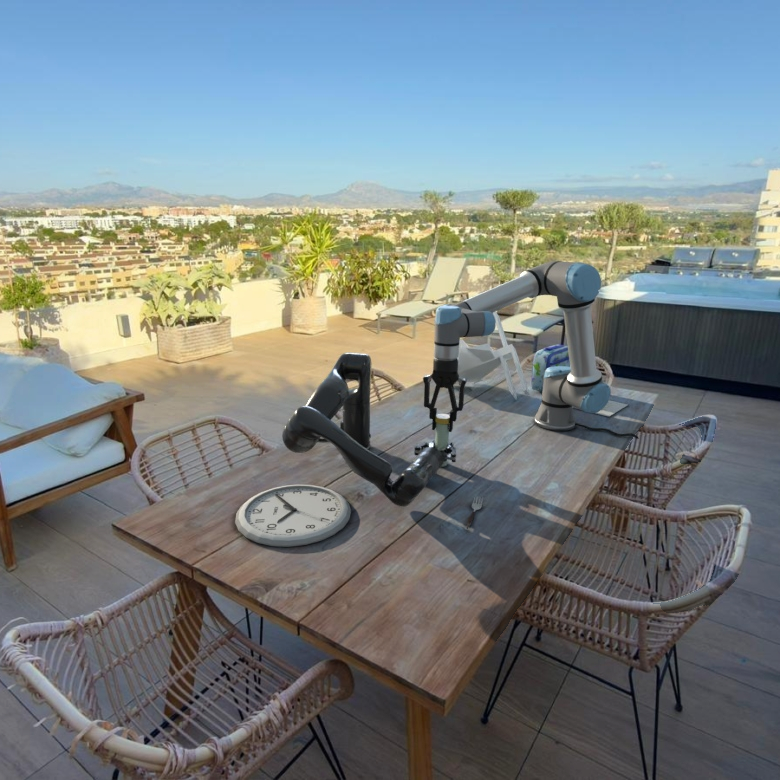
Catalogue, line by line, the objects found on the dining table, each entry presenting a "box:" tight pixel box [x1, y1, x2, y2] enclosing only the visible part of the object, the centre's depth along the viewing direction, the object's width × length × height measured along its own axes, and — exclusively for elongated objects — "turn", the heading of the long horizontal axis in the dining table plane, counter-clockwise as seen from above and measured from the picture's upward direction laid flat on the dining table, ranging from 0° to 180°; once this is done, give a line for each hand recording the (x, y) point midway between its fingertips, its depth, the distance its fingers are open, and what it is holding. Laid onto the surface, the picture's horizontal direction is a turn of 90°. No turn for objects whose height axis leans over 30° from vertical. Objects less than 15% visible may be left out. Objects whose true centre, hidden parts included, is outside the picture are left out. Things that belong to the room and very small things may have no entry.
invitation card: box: [573, 399, 629, 418], centre depth 226 cm, size 21×1×15 cm
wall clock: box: [234, 484, 352, 548], centre depth 138 cm, size 30×2×30 cm
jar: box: [434, 423, 450, 468], centre depth 167 cm, size 4×4×16 cm
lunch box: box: [530, 344, 570, 392], centre depth 247 cm, size 26×11×21 cm, turn 134°
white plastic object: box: [454, 311, 531, 400], centre depth 245 cm, size 37×45×31 cm
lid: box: [435, 413, 450, 424], centre depth 164 cm, size 5×5×2 cm
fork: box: [466, 495, 484, 530], centre depth 138 cm, size 3×16×2 cm, turn 160°
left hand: (444, 443), depth 169 cm, fingers closed on jar, 4 cm apart
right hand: (442, 429), depth 165 cm, fingers closed on lid, 5 cm apart
